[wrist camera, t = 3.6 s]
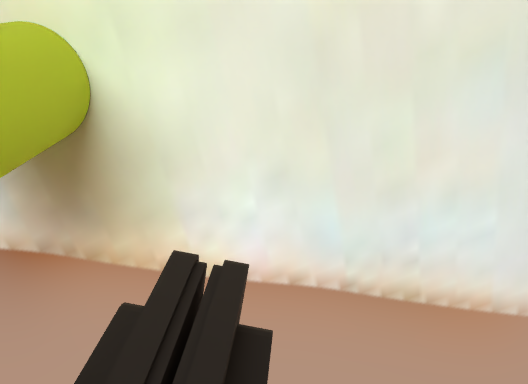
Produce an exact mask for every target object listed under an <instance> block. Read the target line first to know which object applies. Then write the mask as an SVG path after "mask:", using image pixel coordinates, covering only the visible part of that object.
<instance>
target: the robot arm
mask: <svg viewBox="0 0 528 384" xmlns="http://www.w3.org/2000/svg"><path fill="white" fill-rule="evenodd" d="M206 268H207V263H203V262H199V255H196V254H191V253H186V252H180V251H175V250H174V251H173V252H172V254H171V256H170V258H169V260H168V262H167V264H166V266H165V267H164V269H163V271H162V273H161V275H160V277H159V279H158V281H157V283H156V285H155V287H154V289H153V291H152V293H151V295H150V297H149V299H148V301H147V302H146V304H145V306H140V305H135V304H130V303H123V304H122V305H121V306H120V307H119V309H118V310H117V312H116V314H115V315H114V317H113V319H112V321H111V322H110V324H109V326H108V327H107V329H106V331H105V332H104V334H103V336H102V337H101V339H100V341H99V343H98V344H97V346H96V348H95V349H94V351H93V353H92V355H91V356H90V358H89V360H88V361H87V363H86V364H85V366H84V368H83V370H82V371H81V373H80V375H79V376H78V378H77V380H76V381H75V383H74V384H267V380H268V371H269V361H270V353H271V344H272V334H273V331H272V330H267V329H262V328H256V327H251V326H246V325H241V324H239V320H240V314H241V309H242V303H243V297H244V291H245V285H246V280H247V274H248V268H249V264H244V263H239V262H234V261H228V260H225V261H224V264H223V266H219V265H214V266H213V268H212V271H211V274H210V277H209V280H208V283H207V286H206V289H205V292H204V294H203V291H204V283H205V276H206Z"/></svg>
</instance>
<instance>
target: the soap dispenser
mask: <svg viewBox="0 0 528 384" xmlns="http://www.w3.org/2000/svg"><path fill="white" fill-rule="evenodd" d="M89 101H90V87H89V81H88V77H87V73H86V70H85V68H84V66H83V64H82V62H81V60H80V58H79V56H78V55H77V53H76V52H75V51H74V49H73V48H72V47H71V46H70V45H69V44H68V43H67V42H66V41H65V40H64V39H63V38H62V37H60V36H59V35H58V34H56V33H55V32H53V31H52V30H50V29H48V28H46V27H44V26H41V25H38V24H35V23H30V22H21V21H17V22H8V23H1V24H0V178H1V177H3V176H4V175H6V174H7V173H9V172H11V171H12V170H14V169H15V168H17V167H19V166H20V165H22V164H23V163H25V162H27V161H28V160H30V159H31V158H33V157H35V156H36V155H38V154H39V153H41V152H43V151H44V150H46V149H47V148H49V147H51V146H52V145H54V144H55V143H57V142H59V141H60V140H62V139H63V138H65V137H67V136H68V135H70V134H71V133H73V132H74V131H75V130H76V129H77V128H78V127H79V126H80V124H81V123H82V121H83V120H84V118H85V116H86V113H87V110H88V107H89Z"/></svg>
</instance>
